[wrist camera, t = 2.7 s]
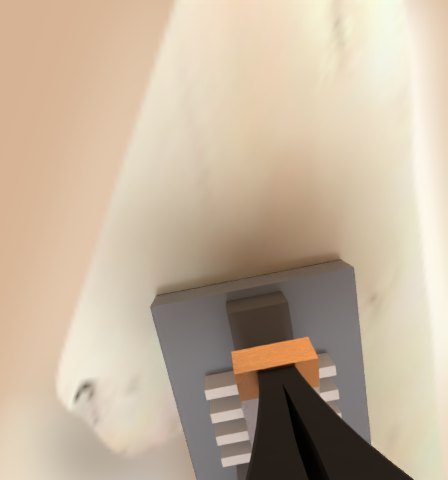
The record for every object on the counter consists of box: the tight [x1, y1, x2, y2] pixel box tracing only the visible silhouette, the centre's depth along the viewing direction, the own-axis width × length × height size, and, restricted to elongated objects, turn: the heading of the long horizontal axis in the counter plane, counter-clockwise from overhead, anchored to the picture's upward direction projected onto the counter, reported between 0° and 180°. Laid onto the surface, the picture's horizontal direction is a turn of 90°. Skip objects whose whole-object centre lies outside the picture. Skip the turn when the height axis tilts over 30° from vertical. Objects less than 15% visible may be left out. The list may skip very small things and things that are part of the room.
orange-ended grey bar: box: [231, 337, 320, 448], centre depth 12 cm, size 12×3×1 cm, turn 11°
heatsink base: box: [150, 260, 371, 480], centre depth 14 cm, size 13×11×5 cm
